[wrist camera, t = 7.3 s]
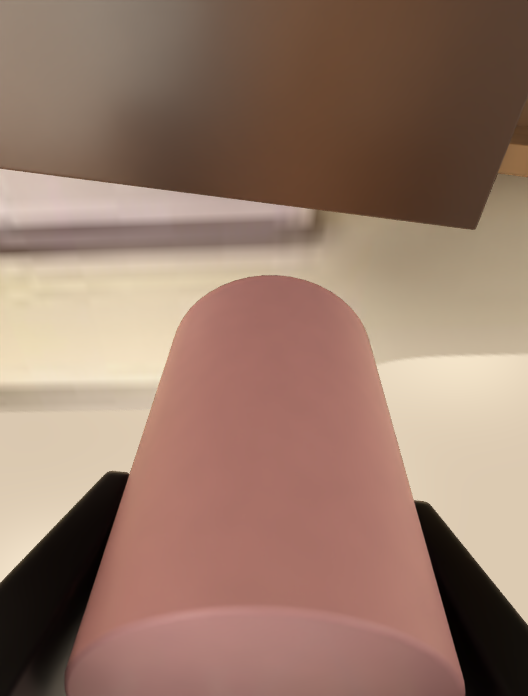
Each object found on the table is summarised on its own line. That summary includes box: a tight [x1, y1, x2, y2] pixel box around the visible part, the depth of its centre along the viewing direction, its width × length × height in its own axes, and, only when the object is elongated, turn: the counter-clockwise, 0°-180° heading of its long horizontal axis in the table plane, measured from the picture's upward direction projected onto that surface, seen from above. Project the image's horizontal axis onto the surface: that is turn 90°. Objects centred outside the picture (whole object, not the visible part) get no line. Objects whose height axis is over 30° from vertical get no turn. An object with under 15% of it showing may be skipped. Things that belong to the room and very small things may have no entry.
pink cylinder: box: [64, 275, 465, 696], centre depth 10 cm, size 5×5×8 cm
